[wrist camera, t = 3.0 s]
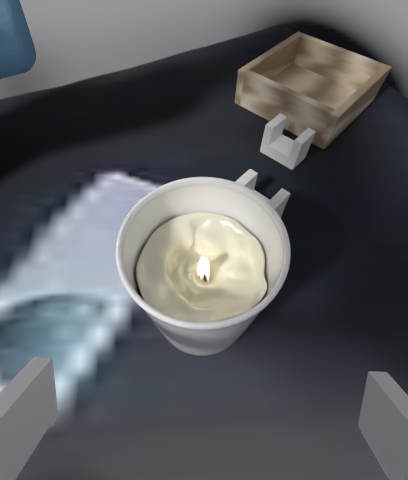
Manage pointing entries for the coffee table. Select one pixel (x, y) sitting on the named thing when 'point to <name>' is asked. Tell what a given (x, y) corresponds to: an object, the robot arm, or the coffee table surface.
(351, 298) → the coffee table surface
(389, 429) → the robot arm
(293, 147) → the clips
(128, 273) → the candle holder
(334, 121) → the square wooden tray
